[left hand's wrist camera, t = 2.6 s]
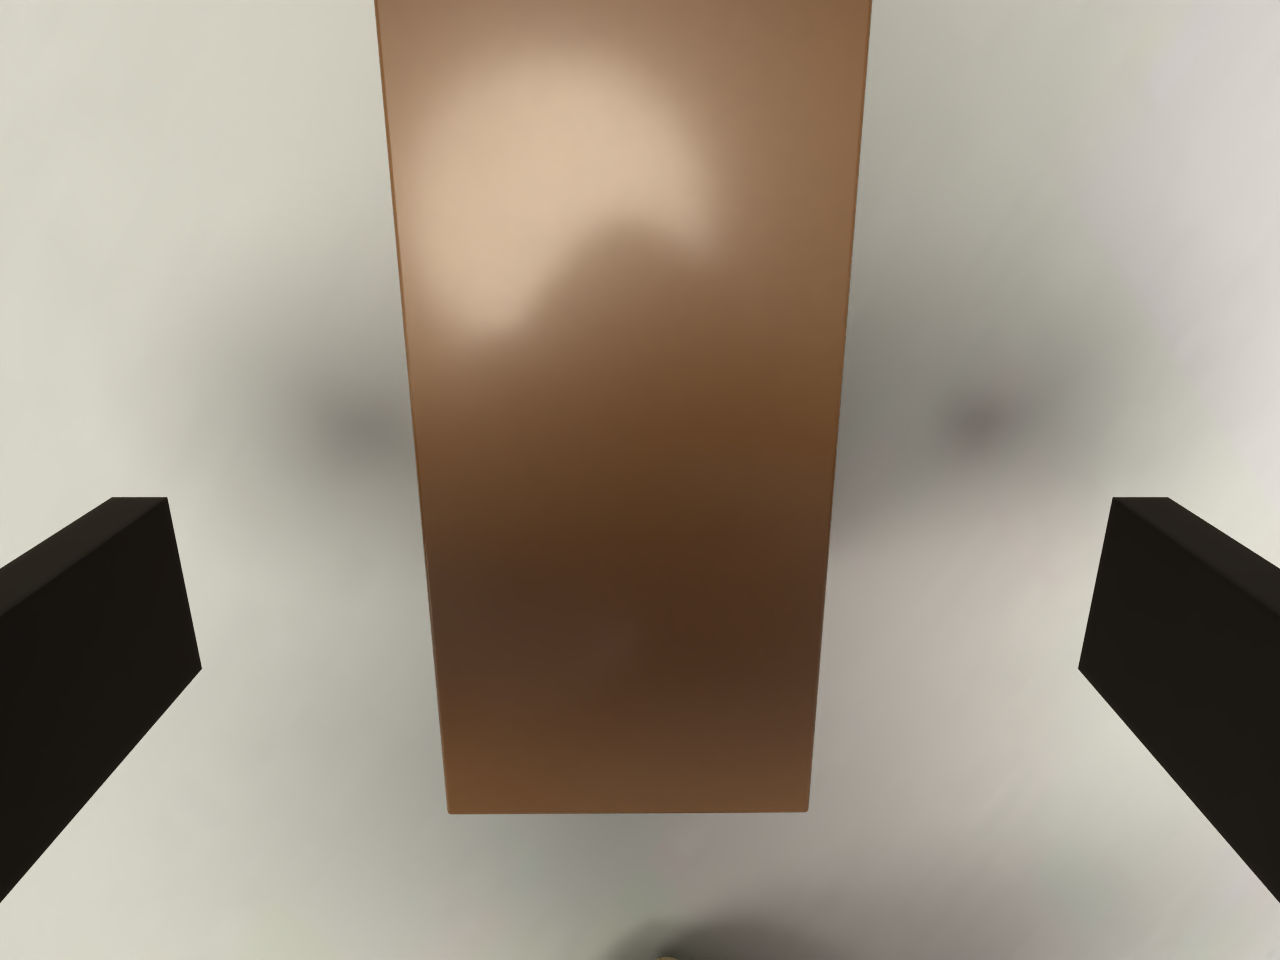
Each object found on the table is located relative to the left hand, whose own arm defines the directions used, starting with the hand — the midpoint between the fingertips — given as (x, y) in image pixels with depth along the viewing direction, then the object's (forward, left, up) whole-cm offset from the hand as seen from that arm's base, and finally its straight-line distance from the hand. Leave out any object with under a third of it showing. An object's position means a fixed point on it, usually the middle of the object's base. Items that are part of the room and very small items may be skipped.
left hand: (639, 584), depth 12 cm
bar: (+9, 0, -8) cm, 12 cm away
